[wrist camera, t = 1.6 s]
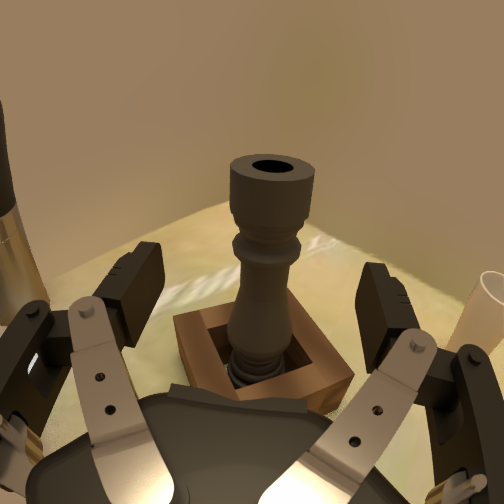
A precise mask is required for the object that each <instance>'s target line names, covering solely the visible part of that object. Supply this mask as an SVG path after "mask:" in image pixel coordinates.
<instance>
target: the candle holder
mask: <svg viewBox="0 0 504 504" xmlns="http://www.w3.org/2000/svg"><path fill="white" fill-rule="evenodd" d="M314 173H315V169H314V168H313V167H312V166H311V165H310V164H309V163H307V162H304V161H302V160H300V159H296V158H292V157H288V156H282V155H274V154H255V155H248V156H243V157H240V158H237V159H235V160H234V161H233V162H232V163H231V164H230V210H231V213H232V214H233V217H234V221H235V223H236V225H237V226H238V227H239V230H240V233H238V234H237V235H236V236H235V238H234V240H233V241H232V246H233V251H234V255H235V256H236V257H237V258H238V259H239V260H240V261H241V274H240V288H239V291H238V294H237V297H236V300H235V303H234V307H233V310H232V313H231V316H230V319H229V322H228V325H227V334H228V340H229V343H230V344H231V346H232V347H233V348H234V349H233V350H232V353H231V356H230V361H229V363H228V366H227V371H228V376H229V378H230V380H231V383H232V385H233V387H234V389H235V390H237V389H240V388H243V387H246V386H249V385H253V384H256V383H259V382H262V381H265V380H268V379H271V378H274V377H276V376H279V375H282V374H284V372H285V367H284V357H283V354H282V353H283V352H284V350H285V349H286V348H287V347H288V345H289V344H290V341H291V336H292V331H293V328H292V321H291V315H290V308H289V301H288V294H287V282H288V275H289V268H290V265H292V264H293V263H294V262H295V261H296V260H297V259H298V258H299V256H300V251H301V244H300V242H299V240H298V238H297V237H296V235H297V232H298V231H299V230H300V229H301V228H302V227H303V225H304V220H306V219H307V218H308V217H309V211H310V204H311V196H312V189H313V181H314Z"/></svg>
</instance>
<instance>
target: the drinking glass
mask: <svg viewBox="0 0 504 504" xmlns="http://www.w3.org/2000/svg"><path fill="white" fill-rule="evenodd" d="M503 338H504V275H503V274H501V273H498V272H494V271H486V272H484V273H482V275H481V276H480V278H479V280H478V281H477V283H476V285H475V287H474V289H473V291H472V293H471V295H470V297H469V299H468V301H467V303H466V305H465V307H464V309H463V312H462V314H461V316H460V319H459V321H458V323H457V325H456V327H455V330H454V332H453V334H452V336H451V338H450V340H449V342H448V344H447V346H446V348H445V350H448V351H451V352H455V353H457V352H458V350H459V348H460V347H461V346H463V345H465V344H473V345H476V346H478V347H480V348H481V349H483V350H484V351H485V352H486V354H487V355H488V356H489V355H490V354H491V352H492V351H493V350H494V349H495V348H496V347H497V345H498V344H499V343H500V342H501V341H502V339H503Z"/></svg>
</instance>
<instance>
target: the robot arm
mask: <svg viewBox="0 0 504 504" xmlns="http://www.w3.org/2000/svg"><path fill="white" fill-rule="evenodd" d="M164 284H165V272H164V265H163V257H162V250H161V245H160V243H155V242H144V241H141V242H140V243H139V244H138V246H137V247H136V248H135V250H134V251H133V252H132V253H130V252H128V253H127V254H125V255H124V256H122V257H121V258H119V259H118V260H117V262H116V263H115V264H114V266H113V269H111V270H110V271H109V273H108V275H106V277H105V278H104V279H103V281H102V282H101V284H100V285H99V286H98V288H97V289H96V291H95V292H94V293H93V295H92V296H87V297H83V298H80V299H78V300H76V301H75V302H74V303H73V304H72V305H71V306H70V307H69V310H60V311H51V309H50V307H49V305H50V300H49V297H48V295H47V292H46V289H45V287H44V285H43V282H42V280H41V277H40V274H39V272H38V269H37V266H36V263H35V261H34V258H33V255H32V252H31V249H30V246H29V243H28V240H27V237H26V234H25V230H24V227H23V224H22V220H21V217H20V213H19V210H18V206H17V202H16V198H15V194H14V190H13V183H12V177H11V171H10V165H9V160H8V153H7V145H6V135H5V124H4V115H3V108H2V104H1V101H0V325H1V326H4V325H6V326H8V327H7V329H6V330H5V332H4V333H3V335H2V336H1V338H0V488H2V489H4V490H5V491H8V492H16V493H18V494H19V495H22V496H23V497H25V498H26V503H27V504H410V503H409V502H408V501H407V500H406V499H405V498H404V497H403V496H402V495H401V494H400V493H399V492H398V491H397V490H396V489H395V487H394V486H393V485H392V484H391V483H390V482H389V481H388V480H387V479H386V478H385V477H384V476H383V475H382V474H381V473H380V471H379V470H378V469H377V468H376V467H375V466H374V465H375V463H376V462H377V460H378V459H379V458H380V456H381V455H382V453H383V452H384V450H385V449H386V447H387V446H388V444H389V442H390V441H391V439H392V438H393V436H394V435H395V433H396V431H397V430H398V428H399V426H400V425H401V423H402V421H403V420H404V418H405V416H406V415H407V413H408V411H409V409H410V408H411V406H412V404H413V403H414V404H418V405H422V406H425V409H426V415H427V422H428V429H429V436H430V443H431V451H432V460H433V470H434V481H435V487H434V488H433V489H431V491H430V492H429V493H428V495H427V497H426V499H425V504H504V400H503V397H502V393H501V390H500V387H499V384H498V381H497V379H496V376H495V373H494V370H493V367H492V365H491V362H490V359H489V357H488V355H487V354H486V352H485V351H484V350H483V349H481V348H480V347H478V346H476V345H473V344H465V345H463V346H461V347H460V348H459V350H458V352H457V353H455V352H451V351H448V350H444V349H441V348H438V347H437V344H436V342H435V340H434V338H433V337H432V336H431V335H430V334H428V333H427V332H425V331H423V330H421V329H420V326H419V323H418V321H417V318H416V315H415V313H414V310H413V307H412V305H411V304H410V303H411V302H410V300H409V297H407V296H408V295H407V292H406V290H405V287H404V285H403V284H402V283H401V282H400V281H399V280H398V279H397V278H396V277H390V275H389V272H388V270H387V267H386V265H385V264H383V263H372V262H366V263H365V265H364V268H363V271H362V275H361V279H360V282H359V286H358V289H357V292H356V297H355V310H356V315H357V320H358V325H359V330H360V336H361V341H362V347H363V353H364V359H365V365H366V371H367V374H371V375H370V377H369V378H368V379H367V381H366V382H365V383H364V385H363V386H362V387H361V389H360V390H359V391H358V392H357V394H356V395H355V396H354V398H353V399H352V400H351V401H350V403H349V404H348V405H347V406H346V408H345V409H344V410H343V411H342V412H341V414H340V415H339V416H338V417H337V418H336V420H335V421H334V422H333V421H332V420H330V419H329V418H327V417H326V416H324V415H322V414H320V413H318V412H315V411H313V410H309V409H307V399H293V398H279V397H269V398H261V399H252V400H243V401H236V400H232V399H230V398H227V397H224V396H221V395H219V394H216V393H213V392H211V391H208V390H206V389H202V388H196V387H190V386H184V385H178V384H173V383H171V386H170V389H169V392H165V393H157V394H153V395H149V396H146V397H144V398H141V399H139V397H138V395H137V393H136V390H135V388H134V385H133V383H132V380H131V377H130V375H129V372H128V369H127V367H126V364H125V361H124V358H123V356H122V353H121V351H122V349H123V347H124V346H127V347H132V348H135V346H136V344H137V342H138V340H139V338H140V336H141V333H142V331H143V329H144V327H145V325H146V323H147V321H148V319H149V317H150V315H151V313H152V311H153V309H154V307H155V304H156V302H157V300H158V298H159V296H160V294H161V292H162V290H163V288H164ZM35 353H37V354H38V358H37V360H36V362H35V363H34V365H33V367H32V369H31V371H30V373H29V374H28V366H29V364H30V362H31V360H32V359H33V357H34V355H35ZM71 367H72V368H73V373H74V378H75V382H76V387H77V391H78V395H79V400H80V404H81V408H82V412H83V415H84V419H85V423H86V426H87V430H88V432H86V433H85V434H83V435H82V436H80V437H78V438H77V439H75V440H73V441H72V442H70V443H68V444H67V445H65V446H63V447H62V448H60V449H58V450H57V451H55V452H53V453H51V454H50V455H48V456H46V457H45V458H44V456H43V454H42V452H43V445H42V442H41V440H40V437H41V435H42V432H43V430H44V427H45V425H46V422H47V420H48V418H49V415H50V413H51V411H52V408H53V406H54V404H55V401H56V399H57V397H58V395H59V393H60V390H61V388H62V386H63V384H64V382H65V380H66V377H67V375H68V373H69V371H70V369H71Z"/></svg>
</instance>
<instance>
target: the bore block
mask: <svg viewBox="0 0 504 504" xmlns="http://www.w3.org/2000/svg"><path fill="white" fill-rule="evenodd" d="M287 294H288V301H289V308H290V315H291V321H292V328H293V331H292V336H291V341H290V344H289V345H288V347H287V348H286V349H285V350H284V352H283V353H282V354H283V357H284V367H285V374H282V375H279V376H276V377H274V378H271V379H268V380H265V381H262V382H259V383H256V384H253V385H249V386H246V387H243V388H240V389H237V390H235V389H234V387H233V385H232V383H231V380H230V378H229V376H228V374H227V372H226V370H225V368H224V365H223V364H226V363H229V361H230V356H231V353H232V350H233V349H234V348H233V347H232V346H231V344H230V343H229V340H228V334H227V325H228V322H229V319H230V316H231V313H232V310H233V307H234V303H235V301H234V302H230V303H226V304H222V305H218V306H214V307H210V308H205V309H201V310H197V311H192V312H188V313H184V314H179V315H175V316H173V320H174V326H175V332H176V337H177V342H178V348H179V353H180V357H181V360H182V363H183V366H184V369H185V371H186V374H187V377H188V380H189V383H190V385H191V387H196V388H202V389H206V390H208V391H211V392H213V393H216V394H219V395H221V396H224V397H227V398H230V399H232V400H236V401H243V400H252V399H261V398H269V397H279V398H293V399H307V409H309V410H313V411H315V412H318V413H320V414H322V415H325V414H327V413H329V412H332V411H334V410H336V409H337V408H338V407H339V405H340V403H341V401H342V399H343V397H344V395H345V393H346V391H347V389H348V387H349V385H350V383H351V381H352V379H353V377H354V375H355V374H354V372H353V371H352V370H351V368H350V367H349V366H348V365H347V363H346V362H345V361H344V359H343V358H342V357H341V356H340V354H339V353H338V352H337V350H336V349H335V348H334V347H333V345H332V344H331V343H330V341H329V340H328V339H327V338H326V336H325V335H324V334H323V332H322V331H321V330H320V329H319V327H318V326H317V325H316V323H315V322H314V321H313V320H312V318H311V317H310V316H309V314H308V313H307V312H306V311H305V309H304V308H303V307H302V305H301V304H300V303H299V302H298V300H297V299H296V298H295V296H294V295H293V294H292V293H291V291H290V290H289V289H288V288H287Z"/></svg>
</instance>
